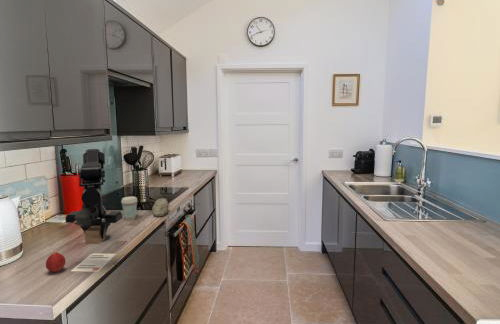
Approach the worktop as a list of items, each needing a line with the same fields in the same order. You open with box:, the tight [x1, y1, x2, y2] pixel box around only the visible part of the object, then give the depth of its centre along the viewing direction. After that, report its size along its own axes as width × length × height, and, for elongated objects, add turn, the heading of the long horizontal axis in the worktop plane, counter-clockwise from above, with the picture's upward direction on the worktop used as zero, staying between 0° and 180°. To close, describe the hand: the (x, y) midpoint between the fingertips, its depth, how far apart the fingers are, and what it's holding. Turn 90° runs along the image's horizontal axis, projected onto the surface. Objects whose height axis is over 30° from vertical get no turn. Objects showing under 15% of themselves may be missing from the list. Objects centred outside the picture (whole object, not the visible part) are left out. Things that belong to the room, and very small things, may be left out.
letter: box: [70, 253, 117, 273], centre depth 107 cm, size 14×10×1 cm
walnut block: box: [84, 226, 107, 245], centre depth 106 cm, size 5×5×5 cm
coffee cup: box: [120, 195, 138, 221], centre depth 157 cm, size 9×8×12 cm
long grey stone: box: [151, 198, 169, 217], centre depth 177 cm, size 35×5×10 cm
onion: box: [45, 250, 66, 273], centre depth 100 cm, size 6×6×8 cm
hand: (95, 238), depth 106 cm, fingers closed on walnut block, 5 cm apart
